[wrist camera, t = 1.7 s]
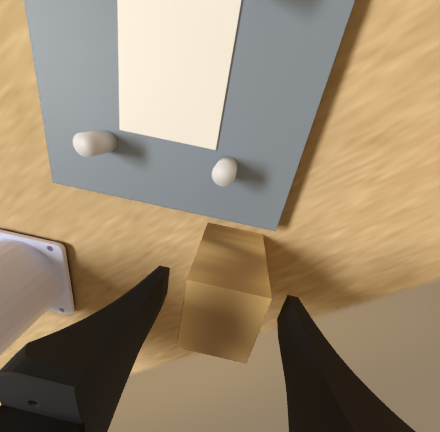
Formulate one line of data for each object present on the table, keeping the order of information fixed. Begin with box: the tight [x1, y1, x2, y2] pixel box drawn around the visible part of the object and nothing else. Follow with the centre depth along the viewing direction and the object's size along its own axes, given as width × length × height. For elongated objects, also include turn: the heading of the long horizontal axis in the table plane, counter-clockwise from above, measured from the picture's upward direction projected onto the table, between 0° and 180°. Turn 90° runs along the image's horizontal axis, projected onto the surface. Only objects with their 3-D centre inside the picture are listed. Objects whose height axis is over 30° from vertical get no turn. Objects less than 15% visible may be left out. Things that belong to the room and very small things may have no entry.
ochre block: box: [177, 223, 272, 363], centre depth 14 cm, size 4×5×6 cm
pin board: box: [24, 0, 355, 231], centre depth 10 cm, size 15×15×3 cm
